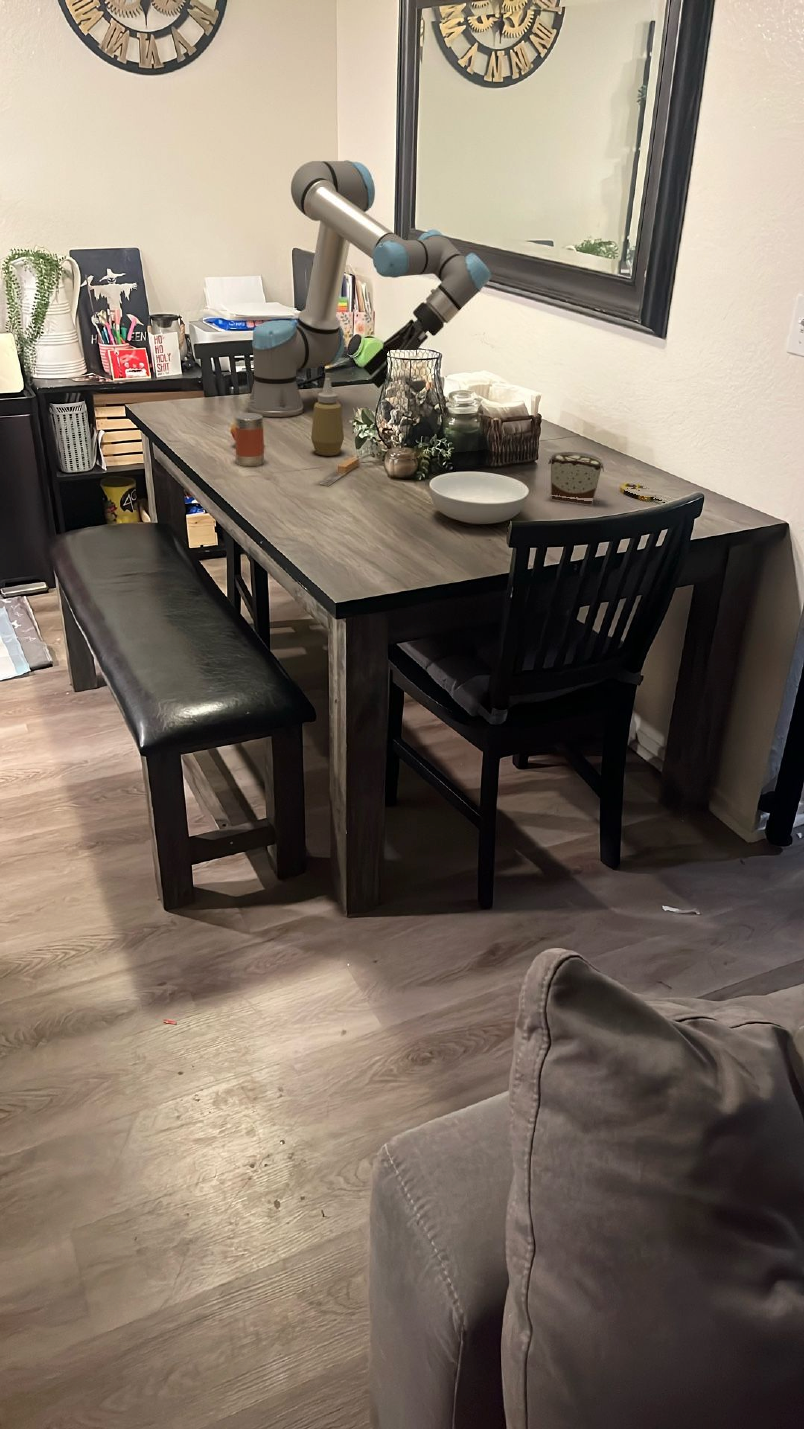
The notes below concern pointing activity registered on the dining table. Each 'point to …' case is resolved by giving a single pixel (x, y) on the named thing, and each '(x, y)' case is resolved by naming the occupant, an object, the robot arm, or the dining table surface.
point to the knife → (341, 471)
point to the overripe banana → (635, 494)
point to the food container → (574, 476)
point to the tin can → (249, 439)
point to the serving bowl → (478, 496)
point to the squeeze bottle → (327, 423)
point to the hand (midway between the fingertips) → (370, 377)
